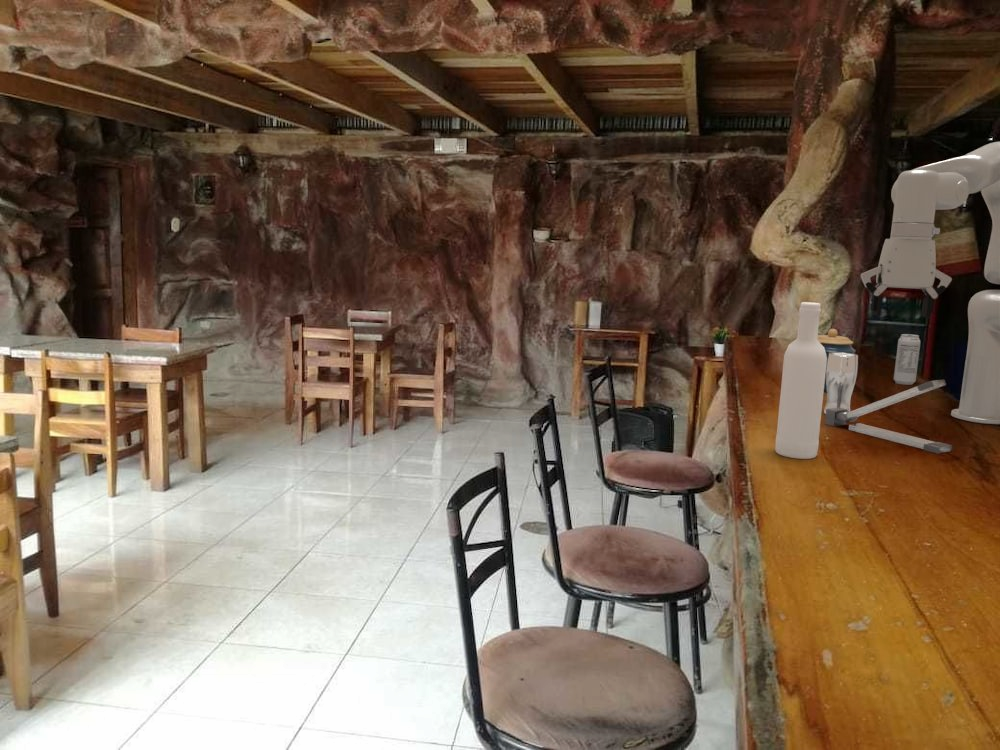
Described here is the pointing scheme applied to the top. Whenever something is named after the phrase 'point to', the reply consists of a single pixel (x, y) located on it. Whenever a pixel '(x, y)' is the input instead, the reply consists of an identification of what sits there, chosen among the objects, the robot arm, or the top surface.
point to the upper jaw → (889, 401)
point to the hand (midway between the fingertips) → (900, 316)
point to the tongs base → (887, 433)
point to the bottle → (802, 389)
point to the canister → (835, 345)
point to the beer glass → (840, 379)
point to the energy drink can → (907, 359)
